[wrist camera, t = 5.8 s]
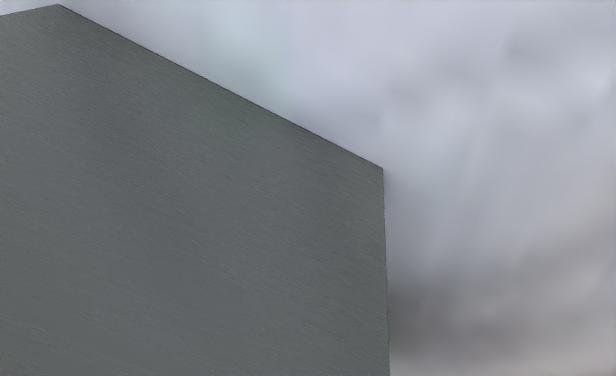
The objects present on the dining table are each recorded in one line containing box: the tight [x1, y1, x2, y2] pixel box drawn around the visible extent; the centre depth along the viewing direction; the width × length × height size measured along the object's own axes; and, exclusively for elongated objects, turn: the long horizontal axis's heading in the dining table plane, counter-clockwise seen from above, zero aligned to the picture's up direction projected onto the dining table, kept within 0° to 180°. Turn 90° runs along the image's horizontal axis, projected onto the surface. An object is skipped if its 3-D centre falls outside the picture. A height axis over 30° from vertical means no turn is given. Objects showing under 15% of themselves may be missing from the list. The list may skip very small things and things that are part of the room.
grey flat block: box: [0, 4, 390, 376], centre depth 6 cm, size 8×1×7 cm, turn 64°
